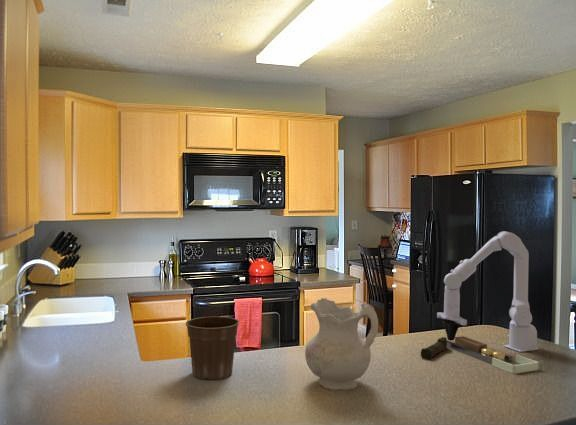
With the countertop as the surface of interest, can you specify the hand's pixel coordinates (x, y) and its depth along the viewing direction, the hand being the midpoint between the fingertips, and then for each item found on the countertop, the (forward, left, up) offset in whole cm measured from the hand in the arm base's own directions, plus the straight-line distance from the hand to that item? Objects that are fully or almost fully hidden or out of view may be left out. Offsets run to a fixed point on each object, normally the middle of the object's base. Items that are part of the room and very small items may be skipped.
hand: (450, 339), depth 200 cm
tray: (0, +31, -1) cm, 31 cm away
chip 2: (0, +23, -2) cm, 23 cm away
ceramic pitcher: (+62, +24, -2) cm, 67 cm away
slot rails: (0, +13, -1) cm, 13 cm away
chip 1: (0, +19, -2) cm, 19 cm away
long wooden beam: (0, +10, -2) cm, 11 cm away
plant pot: (+95, +2, -2) cm, 95 cm away
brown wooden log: (+14, +8, -2) cm, 16 cm away
